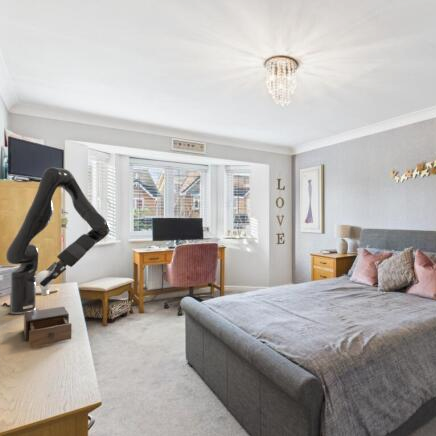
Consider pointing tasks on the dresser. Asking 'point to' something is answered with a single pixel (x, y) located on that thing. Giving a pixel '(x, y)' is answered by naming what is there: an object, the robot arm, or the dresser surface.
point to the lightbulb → (40, 278)
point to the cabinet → (43, 317)
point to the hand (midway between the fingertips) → (40, 283)
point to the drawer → (49, 331)
